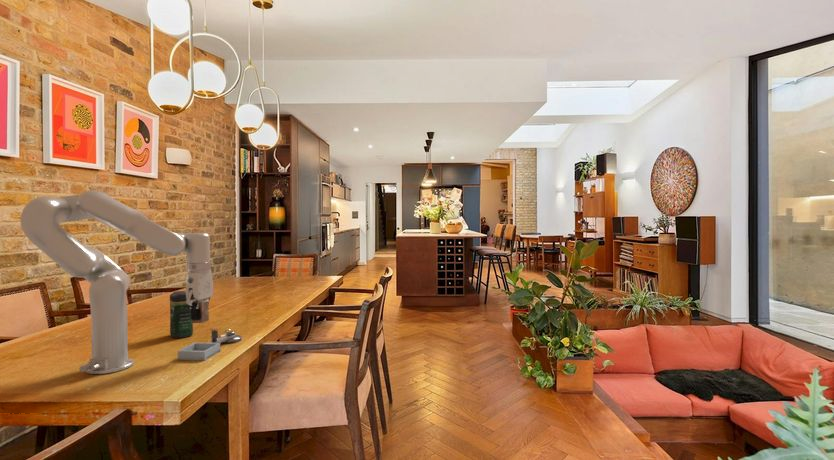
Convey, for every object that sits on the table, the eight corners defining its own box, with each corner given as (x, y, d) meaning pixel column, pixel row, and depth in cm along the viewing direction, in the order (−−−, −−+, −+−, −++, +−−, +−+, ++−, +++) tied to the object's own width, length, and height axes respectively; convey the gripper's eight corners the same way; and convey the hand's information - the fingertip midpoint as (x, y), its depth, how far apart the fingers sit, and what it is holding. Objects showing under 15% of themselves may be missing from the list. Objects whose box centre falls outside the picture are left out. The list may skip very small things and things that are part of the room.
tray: (204, 360, 144) (204, 351, 144) (177, 359, 144) (177, 351, 144) (220, 351, 153) (220, 343, 153) (194, 350, 154) (194, 342, 154)
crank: (229, 335, 169) (228, 321, 168) (237, 336, 168) (237, 322, 167) (208, 344, 157) (208, 329, 157) (217, 344, 156) (217, 329, 156)
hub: (235, 343, 162) (235, 340, 162) (215, 343, 163) (215, 340, 163) (245, 337, 170) (245, 334, 170) (226, 337, 171) (226, 334, 171)
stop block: (202, 323, 146) (201, 300, 146) (191, 323, 147) (190, 300, 146) (209, 320, 150) (208, 298, 150) (198, 320, 151) (197, 298, 150)
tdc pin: (228, 336, 171) (228, 330, 171) (224, 336, 171) (224, 330, 171) (231, 335, 173) (231, 328, 173) (226, 335, 173) (226, 328, 173)
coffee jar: (195, 336, 173) (195, 291, 172) (174, 339, 167) (173, 294, 166) (188, 331, 180) (188, 288, 179) (168, 334, 174) (167, 291, 173)
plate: (235, 337, 171) (235, 336, 171) (222, 339, 169) (222, 338, 169) (233, 334, 176) (233, 333, 176) (220, 336, 173) (220, 335, 173)
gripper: (194, 270, 139) (196, 324, 140) (221, 264, 156) (222, 312, 157) (173, 270, 140) (174, 324, 140) (202, 264, 156) (203, 312, 157)
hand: (200, 317), depth 149 cm, fingers closed on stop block, 4 cm apart
